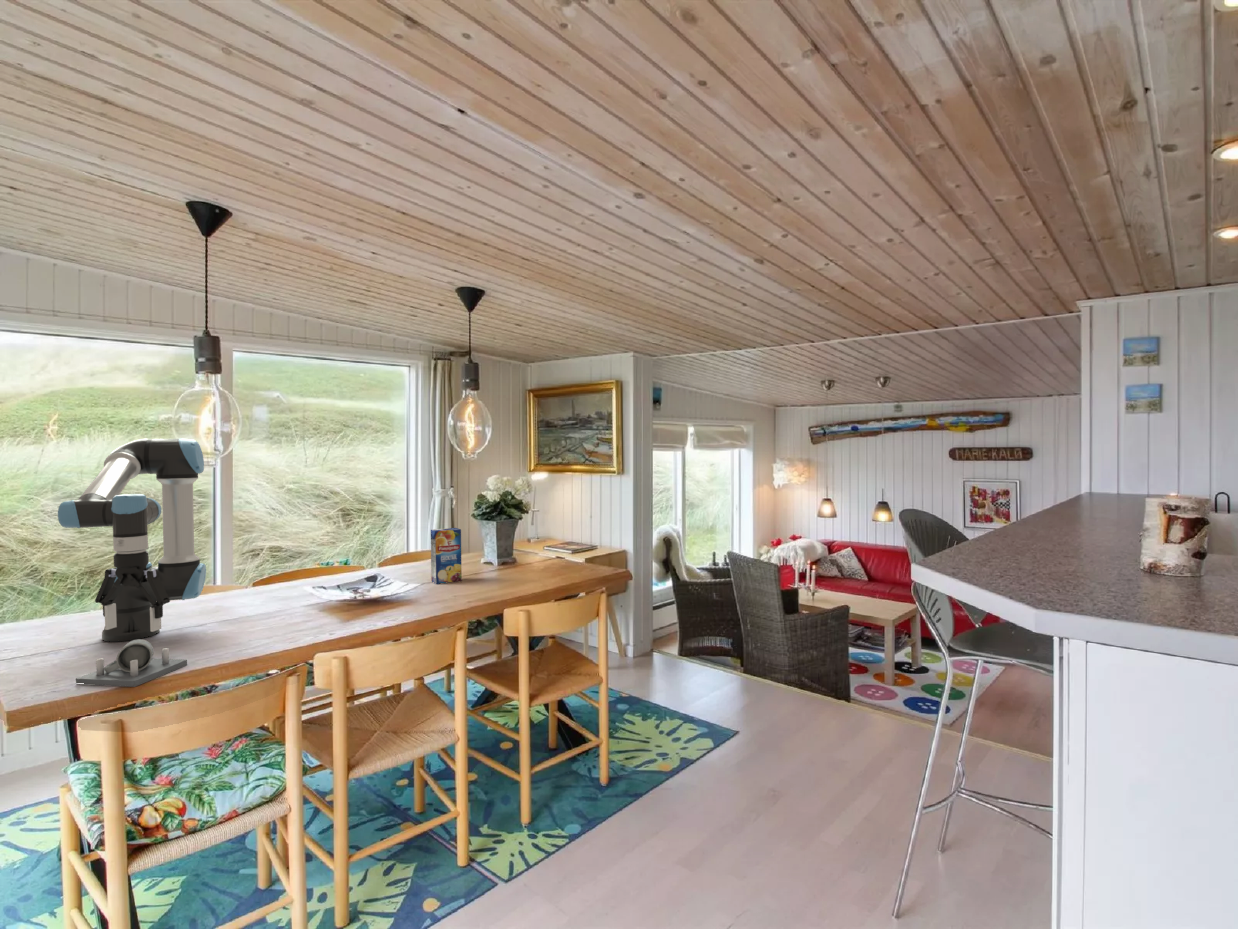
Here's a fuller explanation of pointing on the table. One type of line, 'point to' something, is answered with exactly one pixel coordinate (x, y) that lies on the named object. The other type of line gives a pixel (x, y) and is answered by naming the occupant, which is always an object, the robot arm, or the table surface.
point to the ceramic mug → (132, 656)
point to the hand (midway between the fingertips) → (133, 629)
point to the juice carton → (446, 555)
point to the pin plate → (133, 681)
